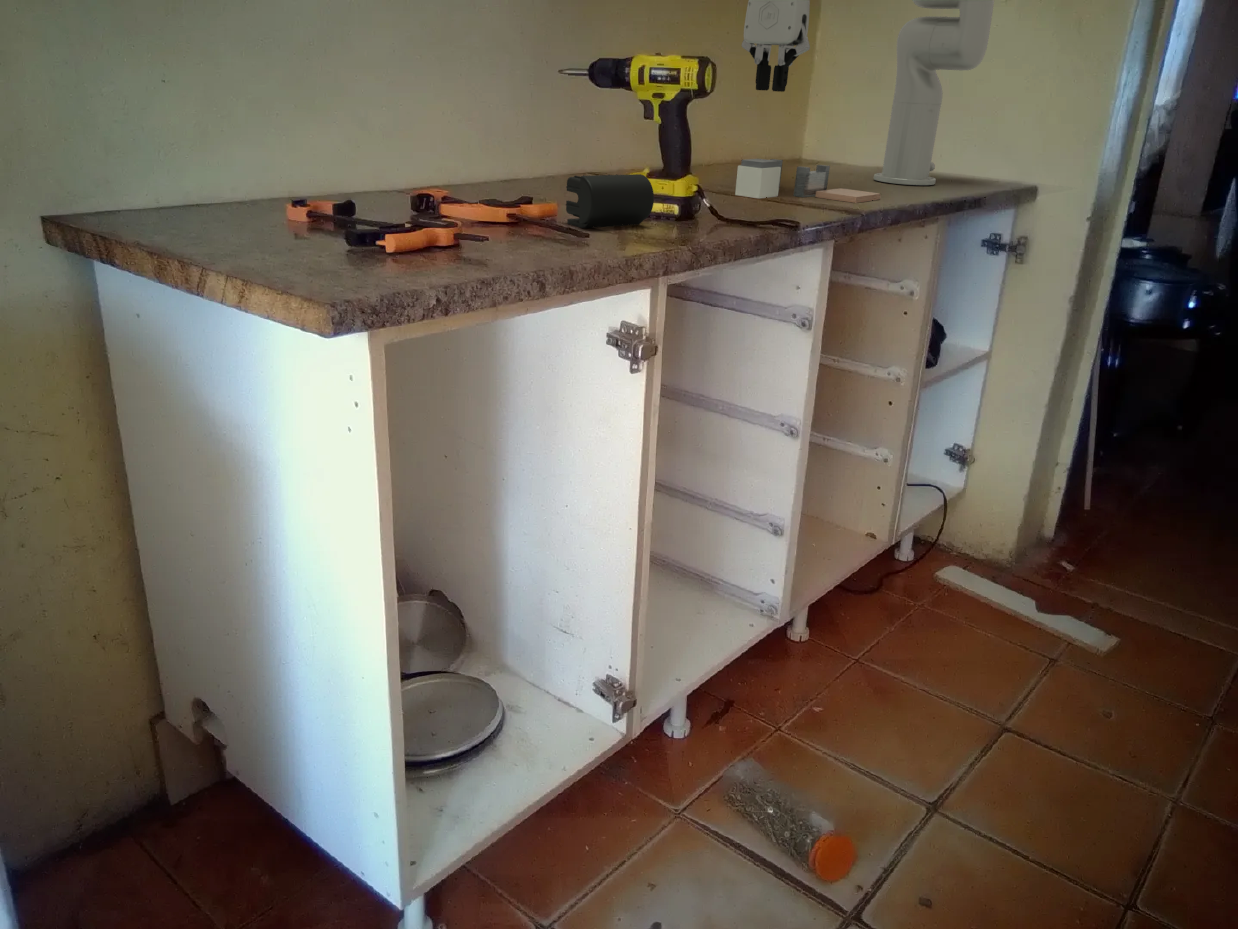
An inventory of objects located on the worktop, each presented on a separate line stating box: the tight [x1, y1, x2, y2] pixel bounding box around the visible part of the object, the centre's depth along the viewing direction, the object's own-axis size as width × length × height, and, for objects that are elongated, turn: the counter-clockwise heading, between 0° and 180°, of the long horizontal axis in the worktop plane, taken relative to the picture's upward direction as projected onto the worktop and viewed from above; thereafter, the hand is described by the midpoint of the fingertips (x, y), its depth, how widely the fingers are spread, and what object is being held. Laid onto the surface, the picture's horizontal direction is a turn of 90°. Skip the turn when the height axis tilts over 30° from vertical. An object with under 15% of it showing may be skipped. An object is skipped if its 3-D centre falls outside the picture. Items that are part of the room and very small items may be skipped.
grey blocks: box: [769, 158, 831, 198], centre depth 173 cm, size 8×12×5 cm, turn 49°
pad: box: [815, 187, 882, 204], centre depth 169 cm, size 9×8×1 cm
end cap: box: [565, 173, 655, 229], centre depth 127 cm, size 10×7×7 cm
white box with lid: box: [734, 158, 782, 199], centre depth 165 cm, size 6×5×6 cm
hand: (770, 89), depth 160 cm, fingers open, 2 cm apart
